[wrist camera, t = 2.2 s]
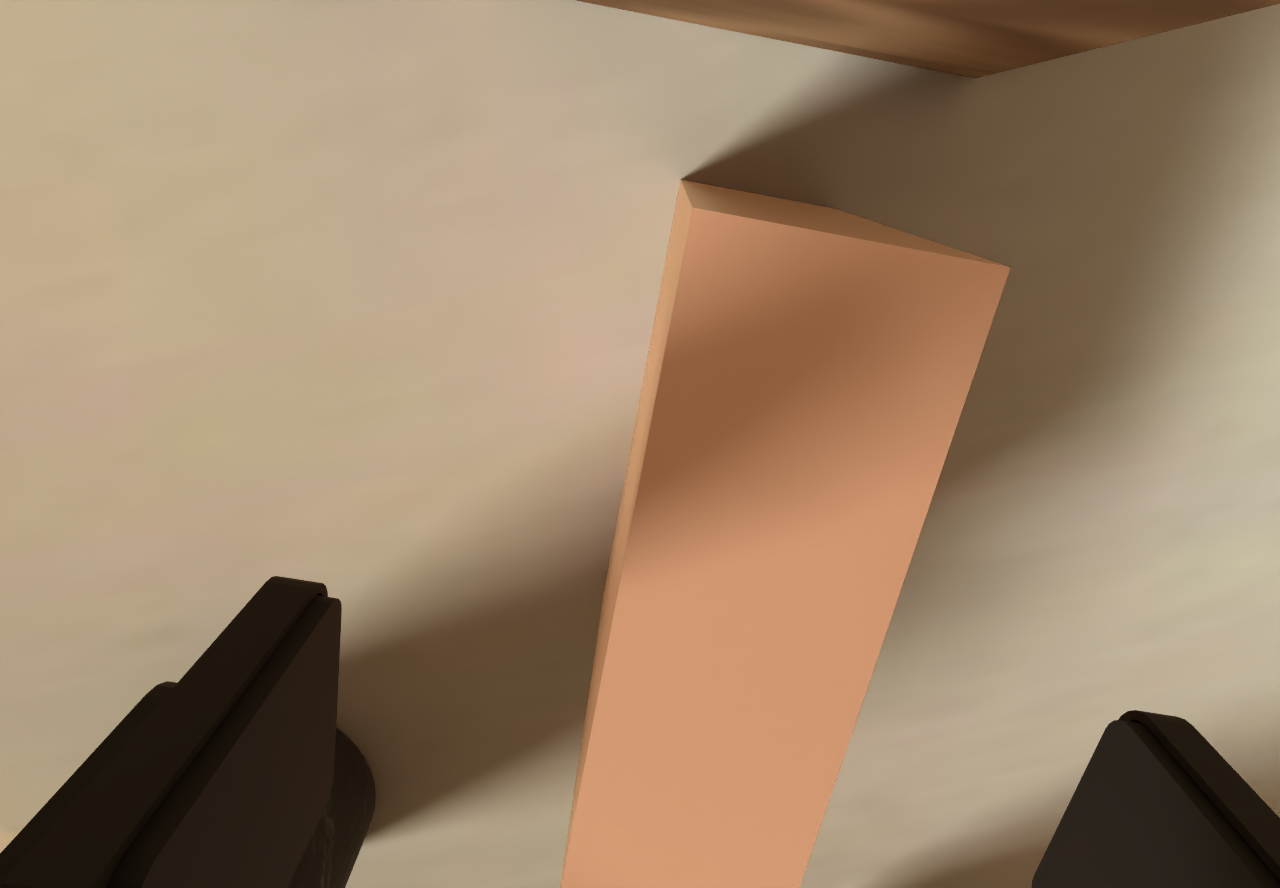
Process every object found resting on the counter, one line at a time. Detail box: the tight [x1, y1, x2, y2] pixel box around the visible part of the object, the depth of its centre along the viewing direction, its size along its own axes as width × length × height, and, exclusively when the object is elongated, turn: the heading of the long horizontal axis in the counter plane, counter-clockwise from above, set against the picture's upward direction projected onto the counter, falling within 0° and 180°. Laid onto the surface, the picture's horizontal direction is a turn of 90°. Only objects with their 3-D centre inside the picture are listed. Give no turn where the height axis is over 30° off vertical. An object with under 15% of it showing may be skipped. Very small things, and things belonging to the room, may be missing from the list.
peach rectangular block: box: [560, 179, 1011, 888], centre depth 17 cm, size 4×12×11 cm, turn 170°
